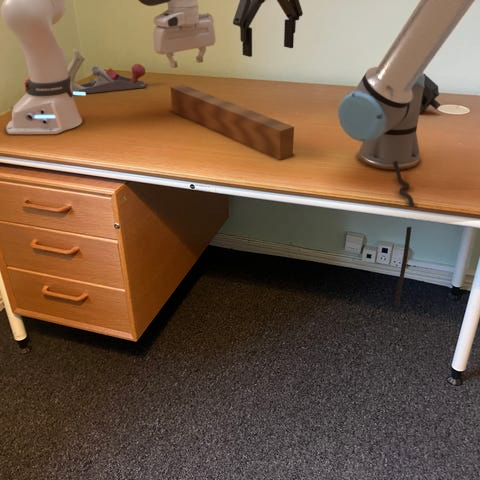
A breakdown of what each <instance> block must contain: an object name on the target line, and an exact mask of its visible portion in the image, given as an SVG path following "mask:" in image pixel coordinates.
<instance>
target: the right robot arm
mask: <svg viewBox="0 0 480 480" xmlns="http://www.w3.org/2000/svg"><path fill="white" fill-rule="evenodd" d="M276 1H277V3H278V5H279V6H280V8H281V10H282V11H283V13H284V14H285V16H286V18H287V19H284V29H283V31H284V32H283V47H284V48H287V49H294V41H295V34H296V26H297V25H296V24H297V21H299V20H300V18H301V17H302V16H303V14H304V13H303V9H302V5H301V3H300V0H276ZM475 1H476V0H419V2H418V4H417V5H416V7H414V10H413V11H412V13H411V14H410V16H409V17H408V19H407V20H406V22H405V24H404V25H403V27H402V28H401V30H400V32H399V33H398V35H397V36H396V37H395V39H394V41H393V42H392V44H391V46H390V47H389V49H388V50H387V52H386V53H385V54H384V56H383V58H382V59H381V61H380V62H379V64H378V66H374V67H370V68H368V69H367V70H366V71H365V73H364V75H363V76H362V78H361V80H360V81H359V82H358V84H357V86H356V87H355V89H354V90H353V91H350V92H348V93H347V94H346V95H345V96H344V97H343V98H342V99H341V101H340V103H339V105H338V110H337V117H338V120H339V124H340V126H341V129H342V131H344V133H345V134H346V135H347V136H349V138H351V139H353V140H355V141H357V142H361V145H360V147H359V151H358V159H359V160H360V162H362V163H363V164H364V165H367V166H369V167H372V168H374V169H378V170H385V171H395V173H396V179H397V181H398V183H399V184H400V185H401V187H400V188H399V190H398V193H399V195H400V196H402V197H404V198H406V199H407V201H408V205H409V207H411V208H414V207H415V204H414V199H413V197H412V196H411V194H409V193H408V192H406V191H407V190H409V188H410V183H408V182H406V181H405V180H403V178H402V174H401V171H403V170H408V169H412V168H414V167H416V166H418V164H419V163H420V158H421V153H420V151H421V150H420V146H419V140H418V135H417V130H418V124H419V119H420V114H421V113H420V107H421V101H422V95H423V89H424V87H425V86H424V80H425V76H424V74H425V73H424V72H425V70H426V69H427V67H428V66H429V65H430V63H431V62H432V60H433V59H434V58H435V56H436V55H437V53H439V51H440V50H441V48H442V47H443V45H444V44H445V42H446V41H447V40H448V38H449V37H450V36H451V34H452V33H453V31H454V30H455V28H456V27H457V26H458V25H459V23H460V21H461V20H462V19H463V17H465V14H466V13H467V12H468V10H470V8H471V7H472V5H473V4H474V2H475ZM265 2H266V0H239V2H238V5H237V8H236V11H235V14H234V18H233V21H232V24H233V25H234V26H237V27H239V31H240V32H239V33H240V35H239V36H240V38H239V40H240V42H242V56H245V57H248V58H252V57H253V28H252V27H250V26H251V24H252V22H253V21H254V19H255V17H256V15H257V13H259V10H260V8H261V6H262V4H264V3H265ZM411 234H412V226H407V227H406V232H405V241H404V248H403V255H402V260H401V267H400V272H399V273H400V274H399V277H398V284H397V288H396V289H397V290H396V295H395V301H394V306H395V307H399V306H400V301H401V296H402V291H403V285H404V279H405V274H406V267H407V261H408V257H409V250H410V242H411Z"/></svg>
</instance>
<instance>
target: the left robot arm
mask: <svg viewBox="0 0 480 480" xmlns="http://www.w3.org/2000/svg"><path fill="white" fill-rule="evenodd" d="M138 2H140V4H143V5H144V6H148V7H156V6H159V5H162V4H167V9H166V10H165V11H163V12H161V13H160V14H158V15H156V16H155V17H153V24H154V29H153V32H152V33H153V34H152V35H153V36H152V37H153V39H152V40H153V49H154V52H155V53H156V54H159V55H165V57H166V58H167V59H168V62H169V66H170V68H172V69H175V68H178V61H177V60H175V59H174V56H175V54H174V53H178V52H185V51H189V50H194V49H198V50H199V51H198V54H197V55H196V56H195V62H196V63H199V64H200V63H203V62H204V56H205V54H206V51H207V47H210V46H214V45H215V44H216V40H217V39H216V31H215V27H214V17H213V16H212V14H210V13H208V12H205V13H200V9H199V1H198V0H138ZM66 8H67V2H66V0H3V2H2V3H1V6H0V16H1V19H2V22H3V23H4V24H5V26H6V27H7V28H8V29H9V30H10V31H11V32H12V33H13V34H14V36H15V38H16V40H17V42H18V44H19V47H20V48H21V50H22V53H23V56H24V59H25V63H26V67H27V71H28V76H29V77H26V79H25V80H24V84H23V87H24V90H25V94H24V95H23V96H22V97H21V98H20V99H19V100H18V101H17V102H16V103H15V104H14V105H13V106H12V107H11V120H10V121H8V123H7V124H6V126H5V130H6V133H7V134H8V135H58V134H61V133H62V132H65V131H68V130H71V129H74V128H77V127H78V126H80V125H81V124H82V123H83V119H82V116H81V115H80V113H79V110H78V107H77V105H76V102H75V97H74V96H87V93H85V92H73V87H72V82H71V79H70V76H69V75H68V70H67V68H68V65H67V61H66V54H65V51H64V49H63V47H62V46H61V45H60V44H59V43H58V40H57V38H56V35H55V34H54V31H53V26H54V25H56V24H57V23H58V22H60V21H61V19H62V17H64V14H65V12H66V11H67V9H66Z"/></svg>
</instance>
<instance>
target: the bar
mask: <svg viewBox="0 0 480 480" xmlns="http://www.w3.org/2000/svg"><path fill="white" fill-rule="evenodd" d="M169 89H170V98H171V99H170V100H171V110H172V112H173V113H175V114H177V115H179V116H182V117H184V118H186V119H189V120H190V121H193V122H195V123H197V124H199V125H201V126H204V127H206V128H208V129H210V130H213V131H215V132H218V133H219V134H222V135H224V136H226V137H228V138H231V139H232V140H234V141H236V142H239V143H241V144H243V145H246V146H248V147H250V148H253V149H255V150H257V151H259V152H262V153H263V154H265V155H268V156H270V157H271V158H272V157H273V158H275V159H277V160H279V161H281V160H283V159H286V158H289V157H291V156H292V157H293V156H294V141H295V140H294V139H295V126H293V125H290V124H289V123H285V122H283V121H280V120H278V119H274V118H272V117H269V116H267V115H264V114H261V113H260V112H256V111H254V110H251V109H248V108H246V107H243V106H240V105H238V104H235V103H233V102H230V101H227V100H225V99H222V98H220V97H216V96H214V95H211V94H209V93H206V92H204V91H201V90H200V89H199V90H198V89H196V88H194V87H191V86H189V85H185V84H180V85H175V86H170V88H169Z"/></svg>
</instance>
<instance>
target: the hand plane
mask: <svg viewBox="0 0 480 480" xmlns="http://www.w3.org/2000/svg"><path fill="white" fill-rule="evenodd" d="M85 59H86V58H85V56H84V55H83V54H82V53H81V52H80V51H79V50H77V49H76V48H73V50H72V58H71V62H70V63H69V65H68V66H67V70H68V75H69V76H70V79H71V82H72V87H73V92H85V94H94V93H104V92H112V91H113V92H114V91H121V90H132V89H142V88H146V83H145V81H143V80H139V78H142V77H144V76H145V75H146V68H145V66H143V65H141V64H139V63H134V64H133V65H132V66H131V73H132V76H131V78H130V77H126V76H123V75H120V74H119V73H117V72H116V71H114V70H113V69H112V68H111V67H109V68H108V70H107V71H105V70H104V69H103V68H102V67H100V65H94V66H92V68H91V70H90V72H91V75H93V76H94V77H97V78H95V79H90V81H89V82H86V83H80V84H78V83H77V82H76V81H75V78H76V74H77V72H78V71H79V69H80V68H81V66H82V65H83V63H84V61H85Z"/></svg>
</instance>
